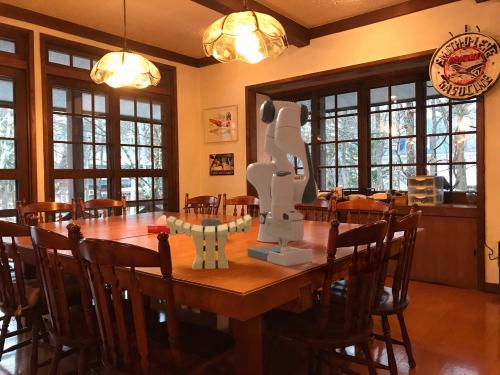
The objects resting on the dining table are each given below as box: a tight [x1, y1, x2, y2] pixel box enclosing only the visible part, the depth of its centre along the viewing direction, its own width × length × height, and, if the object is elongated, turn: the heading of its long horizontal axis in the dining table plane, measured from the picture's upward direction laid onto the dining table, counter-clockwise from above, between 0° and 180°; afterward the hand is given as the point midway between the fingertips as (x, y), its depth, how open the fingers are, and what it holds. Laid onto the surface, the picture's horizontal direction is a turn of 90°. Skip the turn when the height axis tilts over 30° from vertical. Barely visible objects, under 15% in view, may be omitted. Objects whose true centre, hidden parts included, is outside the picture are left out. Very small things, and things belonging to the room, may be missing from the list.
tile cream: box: [280, 245, 295, 255], centre depth 155 cm, size 4×4×2 cm
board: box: [247, 244, 281, 262], centre depth 164 cm, size 13×13×3 cm
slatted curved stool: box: [165, 214, 252, 270], centre depth 152 cm, size 30×16×18 cm, turn 95°
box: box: [266, 247, 313, 268], centre depth 154 cm, size 13×11×5 cm
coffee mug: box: [200, 217, 222, 241], centre depth 213 cm, size 13×10×10 cm
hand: (283, 249), depth 157 cm, fingers closed
